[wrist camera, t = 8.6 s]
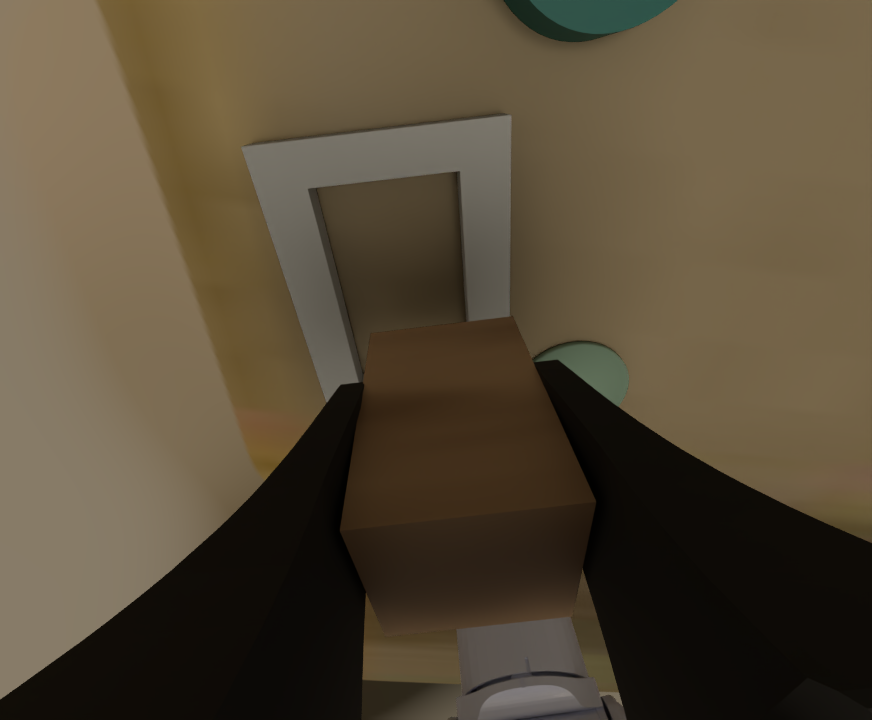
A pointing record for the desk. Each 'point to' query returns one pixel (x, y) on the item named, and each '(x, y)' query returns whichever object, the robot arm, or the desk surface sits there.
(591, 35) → the bracket
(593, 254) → the desk surface
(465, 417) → the walnut block
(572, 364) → the green pad
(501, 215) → the slot board
